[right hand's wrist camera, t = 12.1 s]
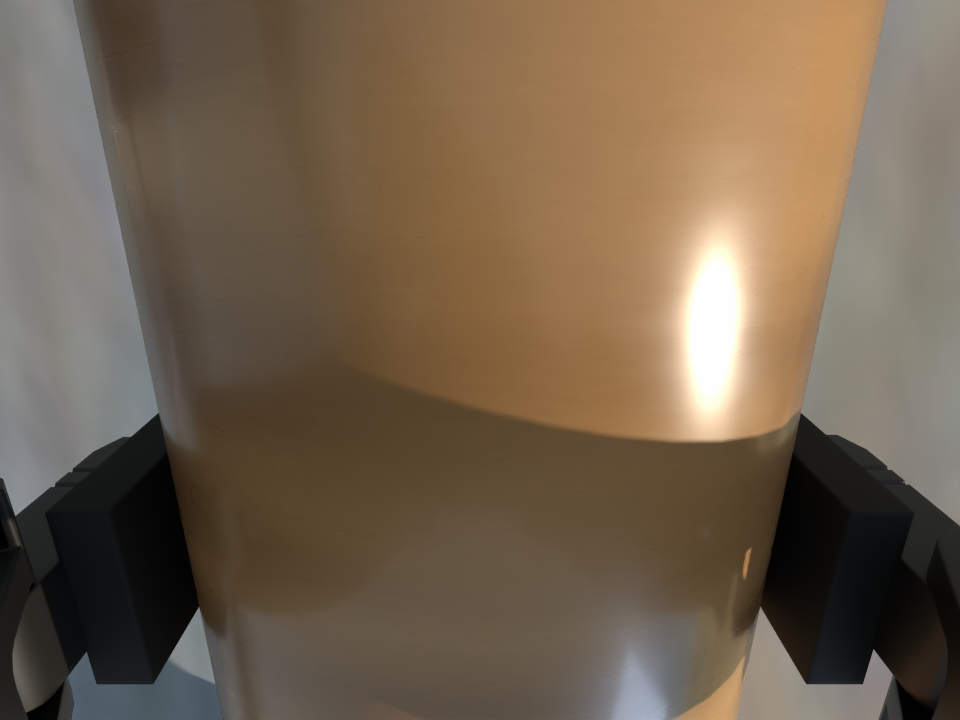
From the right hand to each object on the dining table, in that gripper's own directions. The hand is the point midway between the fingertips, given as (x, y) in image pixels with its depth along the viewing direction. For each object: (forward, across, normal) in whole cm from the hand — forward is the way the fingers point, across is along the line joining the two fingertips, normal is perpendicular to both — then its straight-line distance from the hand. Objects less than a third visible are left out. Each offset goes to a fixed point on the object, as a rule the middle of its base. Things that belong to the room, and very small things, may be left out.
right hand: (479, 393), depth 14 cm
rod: (+1, 0, -10) cm, 10 cm away
